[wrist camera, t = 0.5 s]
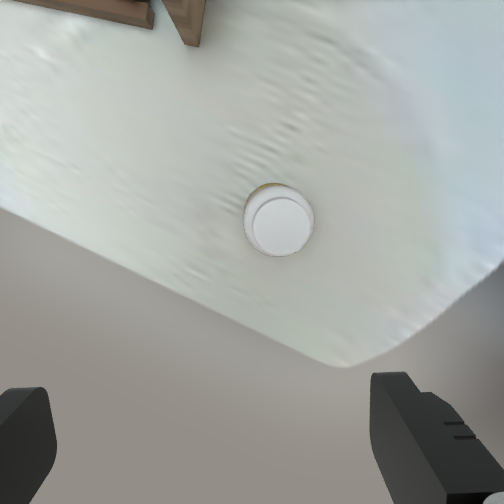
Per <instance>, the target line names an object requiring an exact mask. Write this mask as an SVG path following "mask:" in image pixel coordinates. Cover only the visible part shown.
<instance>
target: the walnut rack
mask: <svg viewBox="0 0 504 504" xmlns="http://www.w3.org/2000/svg"><path fill="white" fill-rule="evenodd" d="M15 1H20V2H25V3H29V4H34V5H39V6H44V7H48V8H53V9H58V10H62V11H67V12H72V13H77V14H81V15H86V16H91V17H96V18H100V19H105V20H110V21H115V22H119V23H124V24H129V25H133V26H138V27H143V28H148V29H152V30H153V22H154V12H153V11H152V9H151V7H150V6H149V4H148V3H146V2H141V1H136V0H15ZM162 1H163V3H164V5H165V7H166V9H167V11H168V13H169V15H170V17H171V19H172V21H173V23H174V25H175V27H176V29H177V30H178V32H179V34H180V36H181V38H182V40H183V42H184V44H186V45H191V46H196V47H199V41H200V35H201V28H202V21H203V15H204V8H205V2H206V0H162Z"/></svg>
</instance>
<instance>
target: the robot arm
mask: <svg viewBox="0 0 504 504" xmlns="http://www.w3.org/2000/svg"><path fill="white" fill-rule="evenodd" d="M370 387H371V388H370V439H371V445H372V450H373V453H374V457H375V459H376V462H377V464H378V466H379V469H380V471H381V474H382V476H383V478H384V481H385V483H386V486H387V488H388V490H389V493H390V495H391V498H392V500H393V502H394V504H504V469H503V468H502V467H501V466H500V465H499V463H498V462H497V461H496V460H495V458H494V457H493V456H492V455H491V454H490V452H489V451H488V450H487V449H486V448H485V446H484V445H483V444H482V443H481V441H480V440H479V439H476V435H475V434H474V433H473V432H472V430H471V429H470V428H469V427H468V426H467V425H465V424H464V421H463V419H462V418H461V417H460V416H459V414H458V413H457V412H456V411H455V410H454V408H453V407H452V406H451V405H450V404H448V403H447V402H445V401H444V400H442V399H441V398H439V397H438V396H436V395H435V394H433V393H432V392H423V393H422V392H420V391H419V389H418V388H417V387H416V385H415V384H414V383H413V381H412V380H411V378H410V377H409V376H408V374H407V373H405V372H383V373H373V374H372V376H371V386H370ZM56 452H57V440H56V434H55V429H54V424H53V418H52V413H51V408H50V403H49V398H48V394H47V391H46V390H45V389H44V388H42V387H31V388H11V389H8V390H6V391H5V392H4V393H3V394H2V395H0V504H29V503H30V501H31V500H32V498H33V497H34V495H35V494H36V492H37V491H38V489H39V488H40V486H41V484H42V483H43V481H44V480H45V478H46V477H47V475H48V474H49V472H50V470H51V468H52V466H53V464H54V461H55V457H56Z"/></svg>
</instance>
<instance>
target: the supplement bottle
mask: <svg viewBox="0 0 504 504" xmlns="http://www.w3.org/2000/svg"><path fill="white" fill-rule="evenodd" d="M243 225H244V231H245V234H246V236H247V238H248V240H249V242H250V243H251V244H252V245H253V246H254V247H255V248H256V249H257V250H258V251H260V252H262V253H264V254H266V255H269V256H274V257H282V256H287V255H291V254H293V253H295V252H297V251H298V250H300V249H301V248H302V247H303V246H304V245H305V244H306V243H307V242H308V240H309V238H310V237H311V234H312V232H313V228H314V214H313V210H312V207H311V205H310V203H309V201H308V200H307V199H306V198H305V197H304V196H303V195H302V194H301V193H300V192H298V191H297V190H295V189H293V188H290V187H288V186H286V185H283V184H278V183H269V184H265V185H262V186H260V187H259V188H257V189H256V190H254V191H253V192H252V193H251V195H250V196H249V197H248V199H247V201H246V204H245V207H244V216H243Z"/></svg>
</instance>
